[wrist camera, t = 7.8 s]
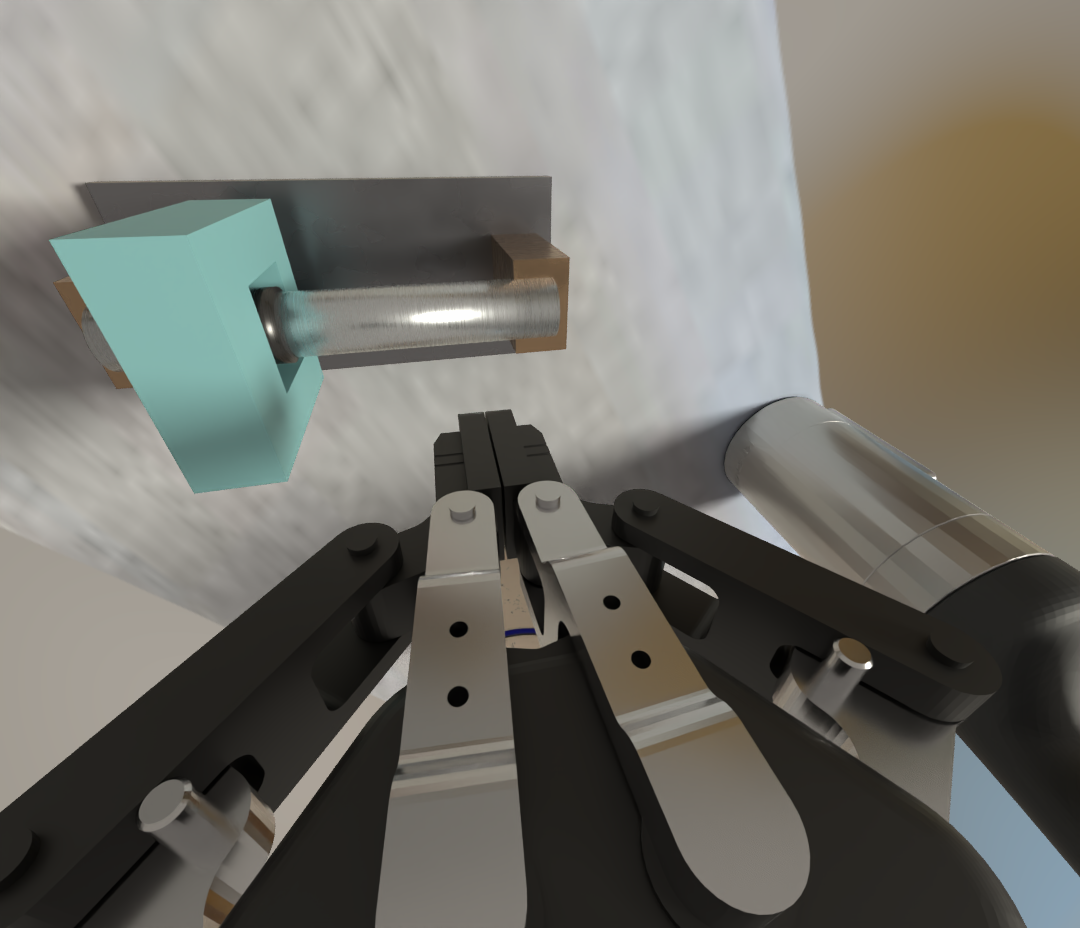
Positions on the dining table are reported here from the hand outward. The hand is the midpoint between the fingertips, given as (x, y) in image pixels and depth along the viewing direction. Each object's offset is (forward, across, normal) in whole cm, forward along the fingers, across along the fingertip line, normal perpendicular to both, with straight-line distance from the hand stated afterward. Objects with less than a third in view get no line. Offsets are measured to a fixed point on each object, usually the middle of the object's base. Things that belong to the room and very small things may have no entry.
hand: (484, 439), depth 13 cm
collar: (+12, +9, -1) cm, 15 cm away
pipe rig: (+15, +5, -1) cm, 16 cm away
